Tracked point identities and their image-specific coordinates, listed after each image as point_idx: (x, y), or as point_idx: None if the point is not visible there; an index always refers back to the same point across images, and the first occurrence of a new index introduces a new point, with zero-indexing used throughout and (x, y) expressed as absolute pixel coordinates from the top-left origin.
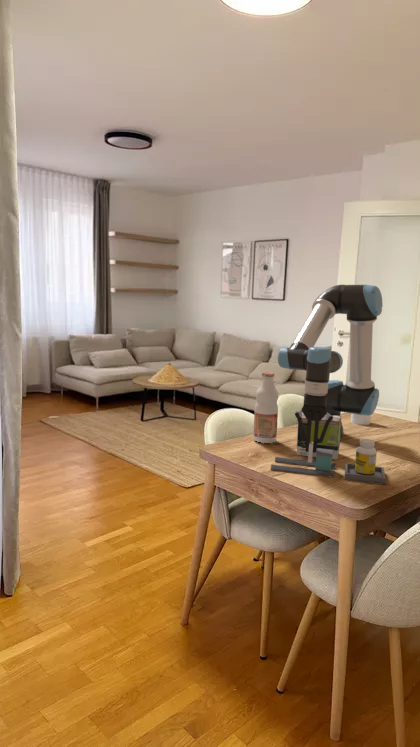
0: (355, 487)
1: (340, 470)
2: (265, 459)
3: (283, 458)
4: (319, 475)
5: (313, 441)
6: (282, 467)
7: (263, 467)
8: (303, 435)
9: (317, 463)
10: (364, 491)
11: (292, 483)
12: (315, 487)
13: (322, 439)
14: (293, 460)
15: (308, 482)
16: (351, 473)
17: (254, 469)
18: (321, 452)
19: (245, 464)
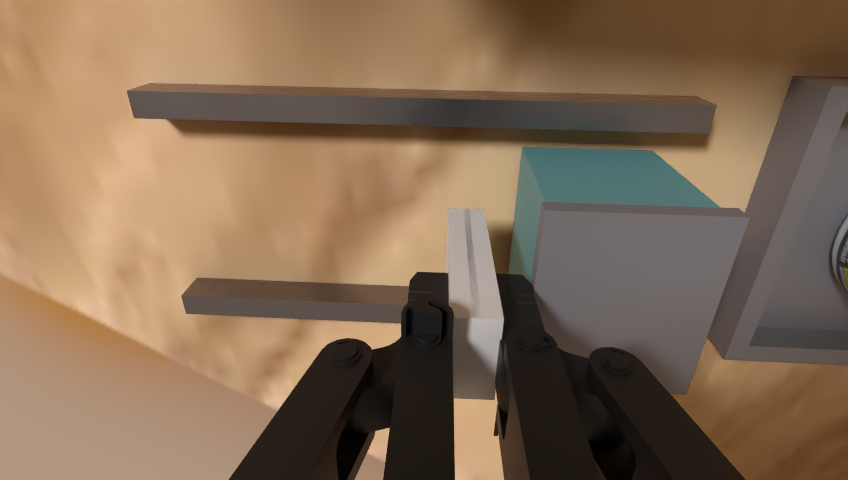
0: (738, 422)
1: (728, 148)
2: (60, 76)
3: (212, 119)
4: None
5: (498, 422)
6: (271, 313)
7: (140, 270)
8: (350, 473)
9: None
10: (773, 457)
11: (381, 450)
12: None
13: (628, 463)
14: (308, 120)
15: (465, 421)
16: (798, 243)
17: (108, 322)
18: (580, 349)
19: (4, 251)
